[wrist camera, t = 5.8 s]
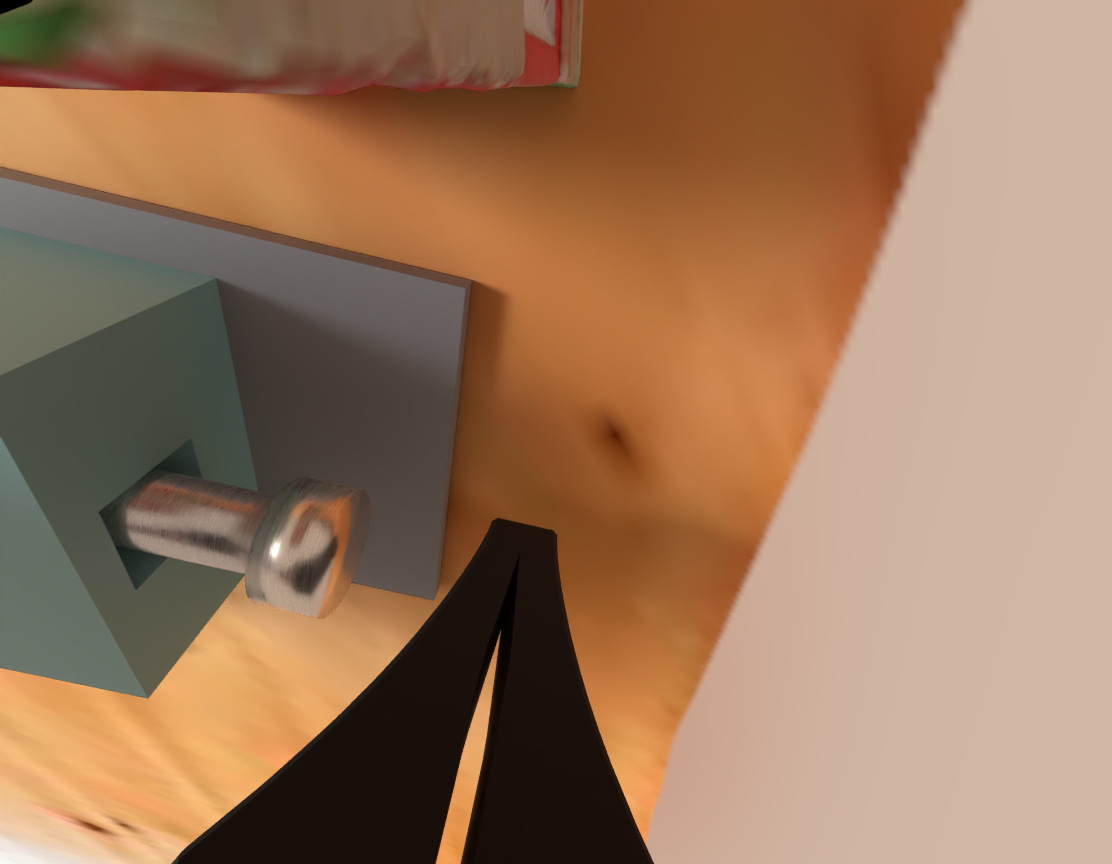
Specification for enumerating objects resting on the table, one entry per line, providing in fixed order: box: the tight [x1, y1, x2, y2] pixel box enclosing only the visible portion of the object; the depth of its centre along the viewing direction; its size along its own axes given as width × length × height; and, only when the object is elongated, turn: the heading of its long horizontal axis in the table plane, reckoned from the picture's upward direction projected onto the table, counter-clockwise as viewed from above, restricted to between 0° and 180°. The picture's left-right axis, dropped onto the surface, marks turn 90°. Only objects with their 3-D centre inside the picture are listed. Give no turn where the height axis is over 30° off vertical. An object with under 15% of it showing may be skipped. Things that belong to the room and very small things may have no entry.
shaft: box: [99, 468, 371, 619], centre depth 10 cm, size 11×3×3 cm, turn 78°
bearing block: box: [0, 167, 472, 698], centre depth 10 cm, size 12×10×5 cm
